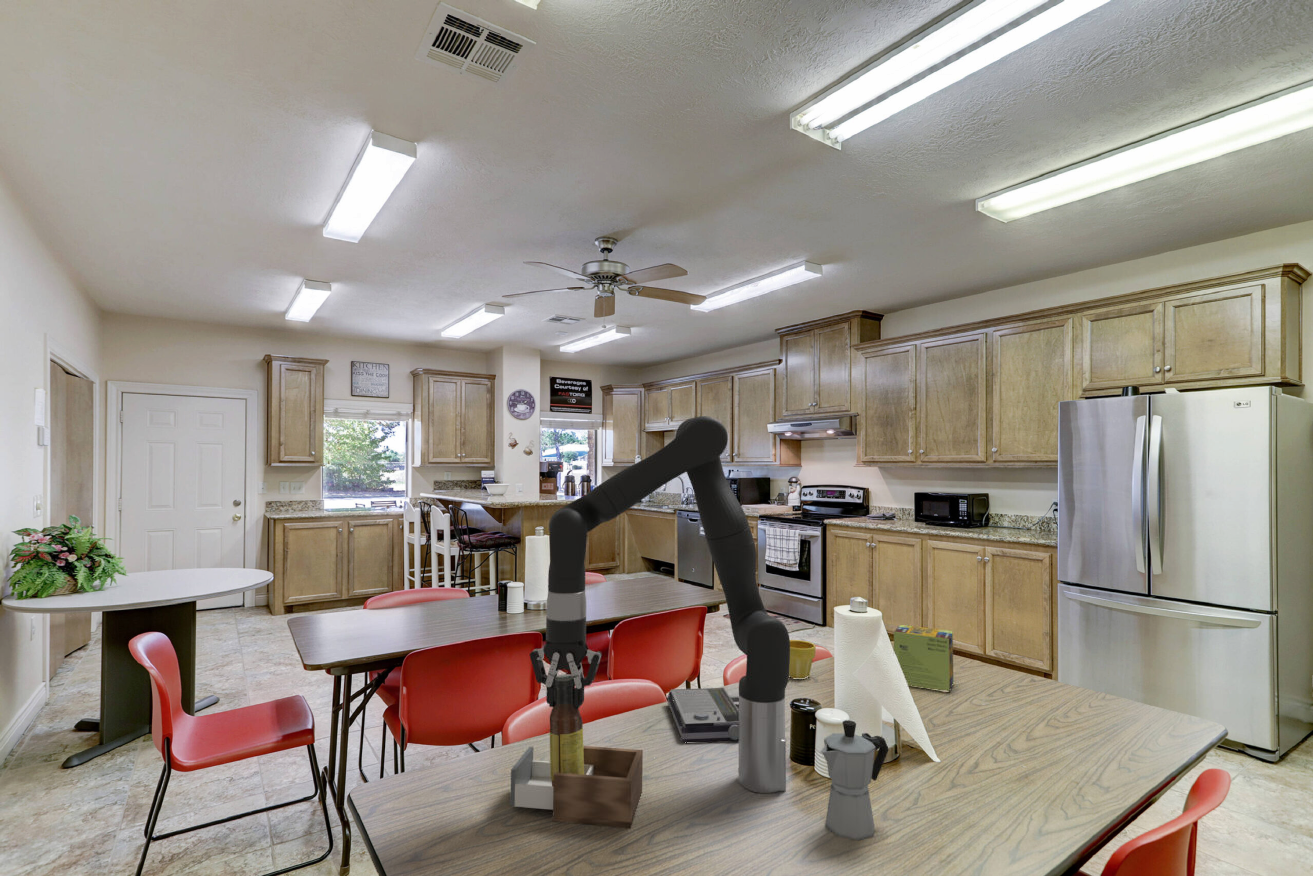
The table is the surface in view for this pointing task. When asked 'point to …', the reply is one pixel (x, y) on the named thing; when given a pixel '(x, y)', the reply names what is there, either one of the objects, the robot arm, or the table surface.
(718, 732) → the radio
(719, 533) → the robot arm
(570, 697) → the sauce bottle
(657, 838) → the table surface
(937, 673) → the protein box
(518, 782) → the tray
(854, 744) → the coffee maker
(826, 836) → the table surface
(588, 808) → the caddy
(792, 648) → the plant pot
